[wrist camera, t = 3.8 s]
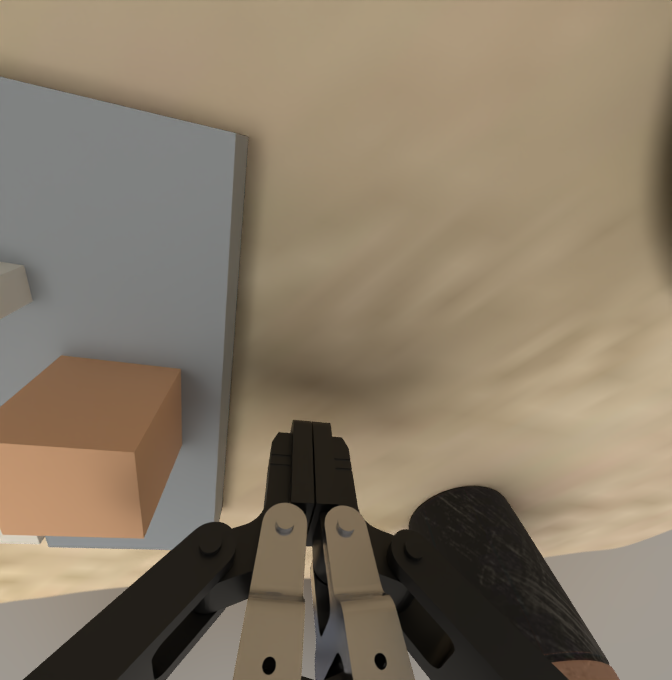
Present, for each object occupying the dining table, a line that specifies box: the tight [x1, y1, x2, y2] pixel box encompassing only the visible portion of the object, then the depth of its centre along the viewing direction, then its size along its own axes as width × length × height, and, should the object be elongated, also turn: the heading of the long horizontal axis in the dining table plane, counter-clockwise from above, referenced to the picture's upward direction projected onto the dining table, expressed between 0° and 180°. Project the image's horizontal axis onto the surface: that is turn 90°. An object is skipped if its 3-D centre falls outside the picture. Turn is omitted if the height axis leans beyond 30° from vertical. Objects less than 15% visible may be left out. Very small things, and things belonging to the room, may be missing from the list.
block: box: [0, 355, 182, 539], centre depth 11 cm, size 4×4×4 cm
